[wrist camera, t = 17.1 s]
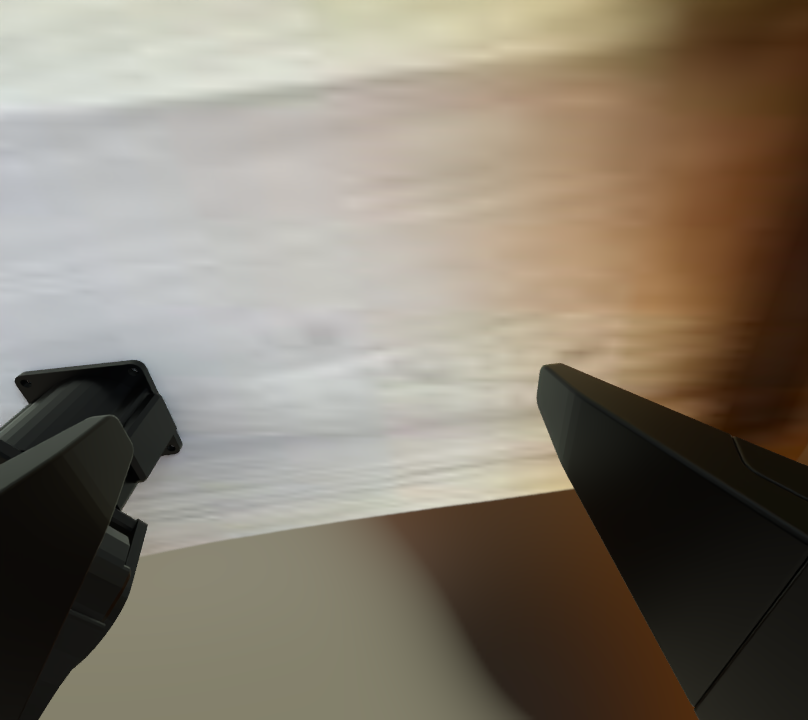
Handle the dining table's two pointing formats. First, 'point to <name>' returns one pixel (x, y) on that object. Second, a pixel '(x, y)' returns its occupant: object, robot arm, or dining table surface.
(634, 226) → the dining table surface
